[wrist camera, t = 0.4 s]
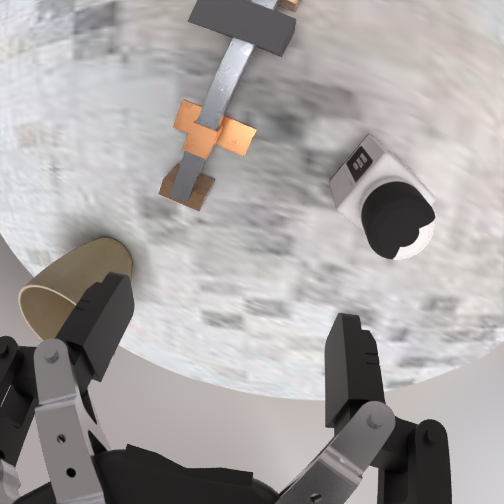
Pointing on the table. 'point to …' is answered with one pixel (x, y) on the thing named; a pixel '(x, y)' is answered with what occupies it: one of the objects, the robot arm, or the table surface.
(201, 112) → the rail
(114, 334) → the robot arm
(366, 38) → the table surface
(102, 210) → the table surface
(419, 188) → the container
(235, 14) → the collar
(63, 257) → the plant pot
